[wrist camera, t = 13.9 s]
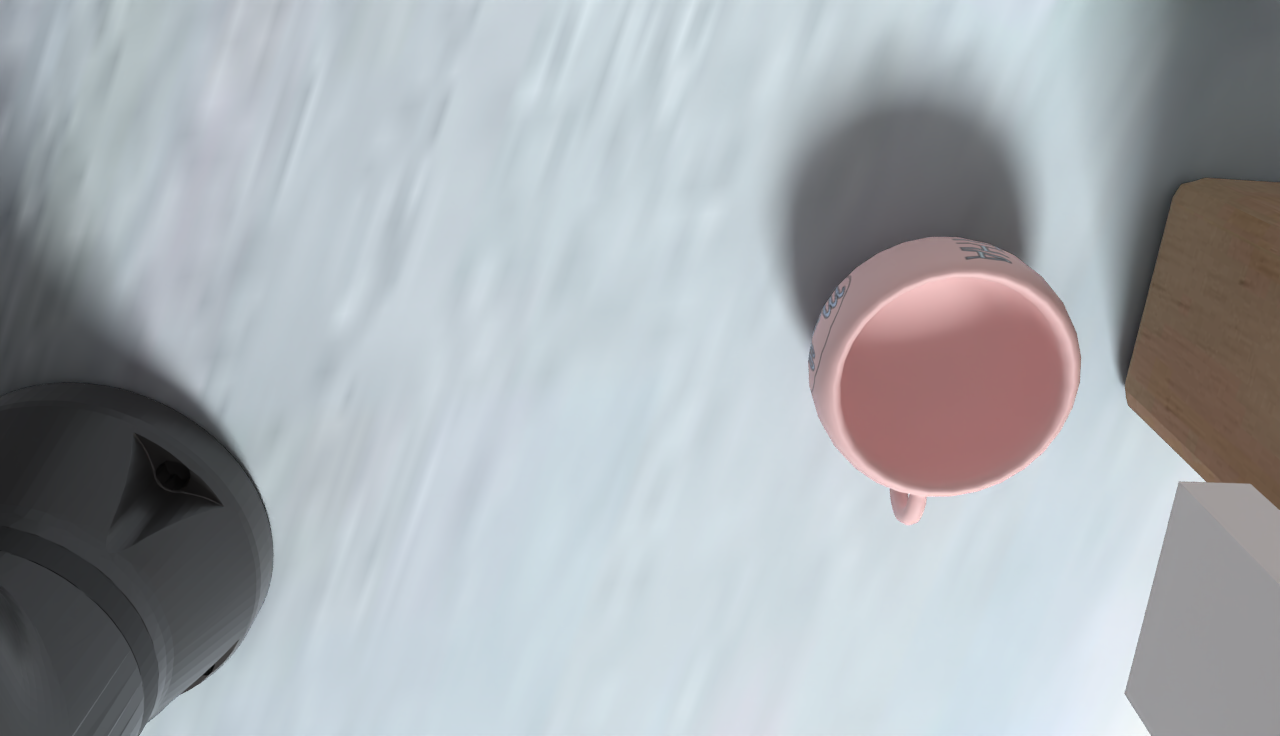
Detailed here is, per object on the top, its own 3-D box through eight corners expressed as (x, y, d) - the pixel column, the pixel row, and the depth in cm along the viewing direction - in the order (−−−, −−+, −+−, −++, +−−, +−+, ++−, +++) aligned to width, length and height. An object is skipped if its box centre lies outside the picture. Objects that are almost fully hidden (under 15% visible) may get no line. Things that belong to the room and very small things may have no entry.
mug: (817, 202, 44) (844, 243, 38) (1060, 227, 44) (1121, 271, 39) (772, 469, 48) (790, 540, 43) (993, 489, 49) (1039, 562, 43)
